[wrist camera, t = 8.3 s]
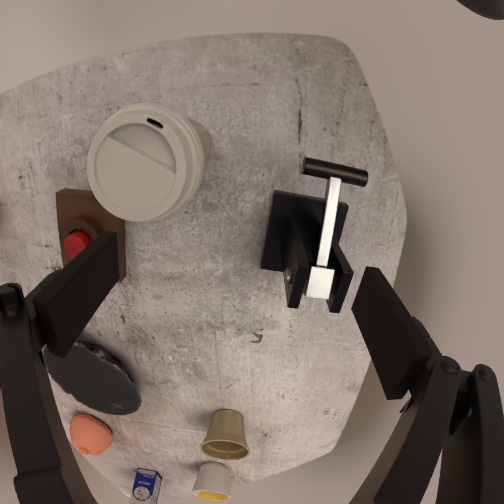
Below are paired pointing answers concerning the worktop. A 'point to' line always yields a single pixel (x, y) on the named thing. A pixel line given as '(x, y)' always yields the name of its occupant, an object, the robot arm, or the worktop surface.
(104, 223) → the button block
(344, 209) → the lever bracket
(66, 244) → the button
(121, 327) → the worktop surface
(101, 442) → the sugar bowl
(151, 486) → the milk carton
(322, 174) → the press lever
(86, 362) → the board
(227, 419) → the flower pot
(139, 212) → the coffee cup
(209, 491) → the mug
